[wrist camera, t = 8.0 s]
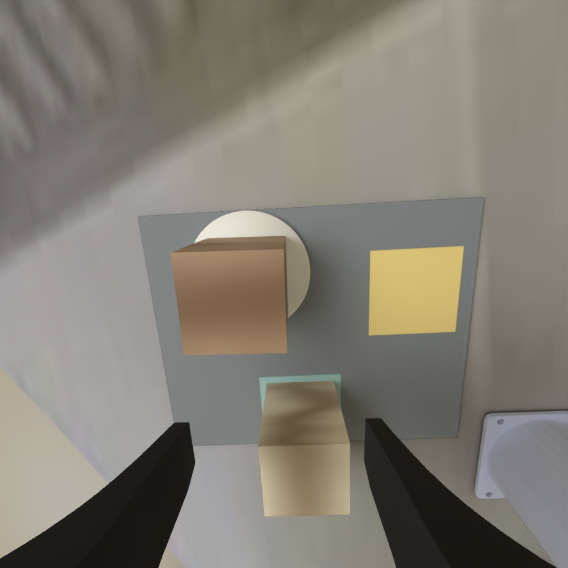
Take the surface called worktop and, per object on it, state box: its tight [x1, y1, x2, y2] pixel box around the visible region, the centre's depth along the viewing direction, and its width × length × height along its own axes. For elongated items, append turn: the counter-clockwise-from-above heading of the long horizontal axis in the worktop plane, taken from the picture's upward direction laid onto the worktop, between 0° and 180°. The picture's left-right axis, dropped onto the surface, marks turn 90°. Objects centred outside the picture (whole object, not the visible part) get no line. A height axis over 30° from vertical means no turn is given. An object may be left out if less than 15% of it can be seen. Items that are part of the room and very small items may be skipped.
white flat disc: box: [195, 211, 310, 318], centre depth 20 cm, size 8×8×1 cm
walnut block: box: [171, 236, 288, 355], centre depth 17 cm, size 5×5×6 cm
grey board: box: [138, 197, 484, 446], centre depth 21 cm, size 22×18×1 cm
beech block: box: [258, 381, 350, 517], centre depth 20 cm, size 5×5×6 cm
